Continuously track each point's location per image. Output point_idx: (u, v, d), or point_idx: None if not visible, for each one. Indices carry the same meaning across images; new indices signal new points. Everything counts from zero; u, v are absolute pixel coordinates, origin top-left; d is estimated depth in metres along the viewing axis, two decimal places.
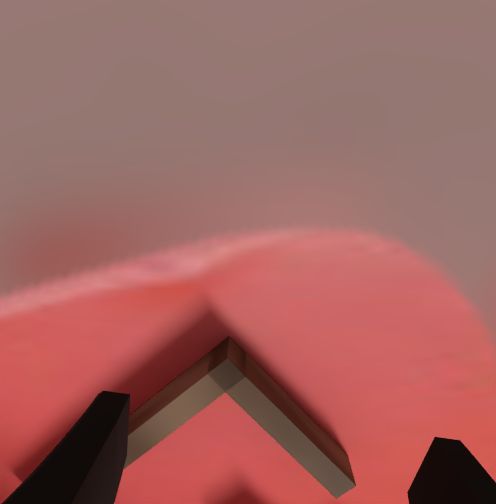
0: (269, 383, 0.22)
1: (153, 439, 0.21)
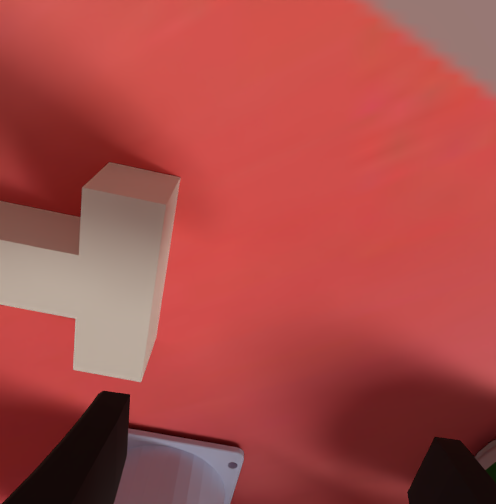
0: None
1: None
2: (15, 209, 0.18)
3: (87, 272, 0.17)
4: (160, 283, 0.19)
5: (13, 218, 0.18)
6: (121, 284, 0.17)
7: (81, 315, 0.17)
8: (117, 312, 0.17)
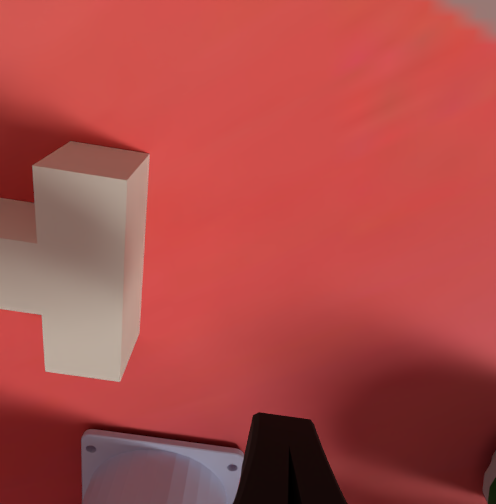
0: None
1: None
2: None
3: (48, 262, 0.15)
4: (135, 272, 0.17)
5: None
6: (87, 274, 0.15)
7: (47, 310, 0.16)
8: (86, 305, 0.16)
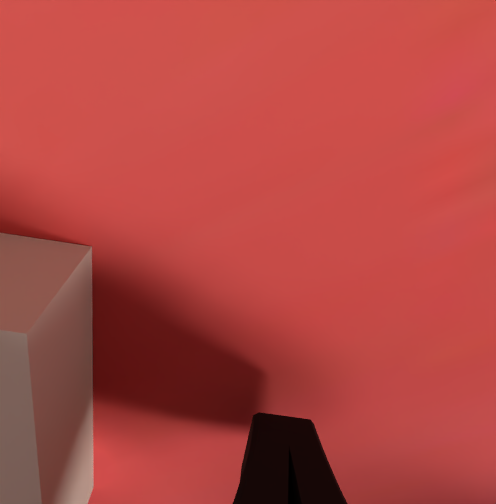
0: None
1: None
2: None
3: None
4: (72, 433, 0.10)
5: None
6: None
7: None
8: None
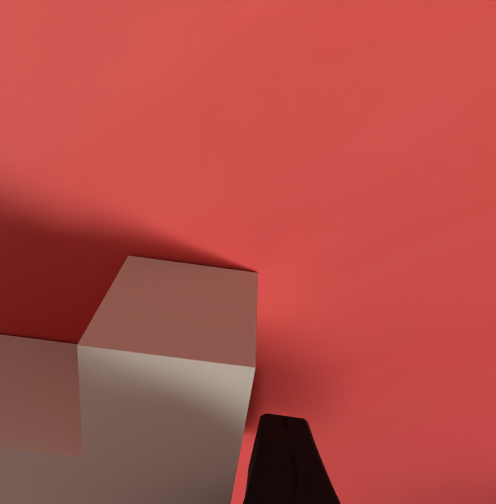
0: None
1: None
2: None
3: (101, 482, 0.09)
4: None
5: None
6: (168, 497, 0.09)
7: None
8: None
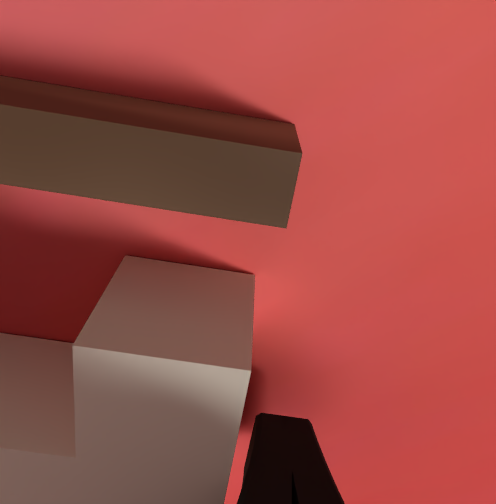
0: None
1: None
2: None
3: (94, 482, 0.09)
4: None
5: None
6: (160, 499, 0.09)
7: None
8: None
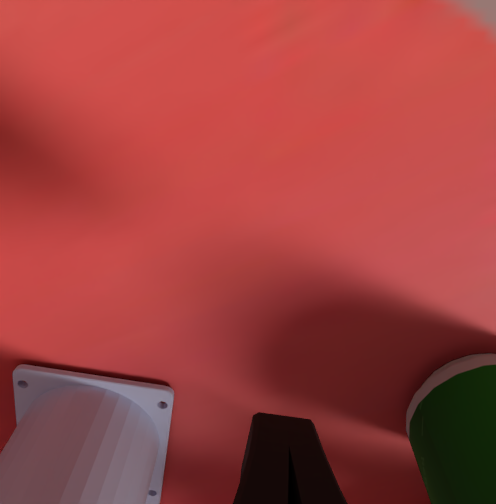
0: None
1: None
2: None
3: None
4: None
5: None
6: None
7: None
8: None
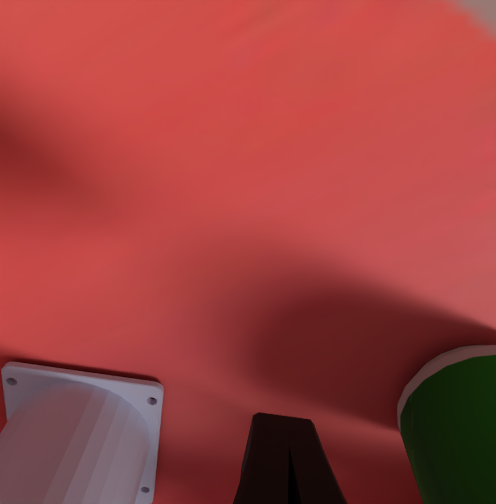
0: None
1: None
2: None
3: None
4: None
5: None
6: None
7: None
8: None
